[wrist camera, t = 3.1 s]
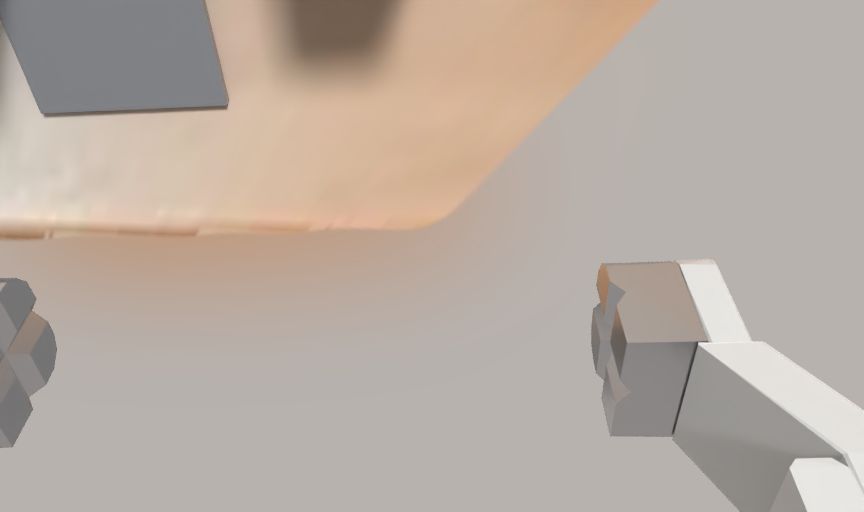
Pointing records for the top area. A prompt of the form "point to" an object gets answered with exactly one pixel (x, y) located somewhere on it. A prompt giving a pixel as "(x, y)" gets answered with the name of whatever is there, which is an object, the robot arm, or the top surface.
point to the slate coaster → (115, 53)
